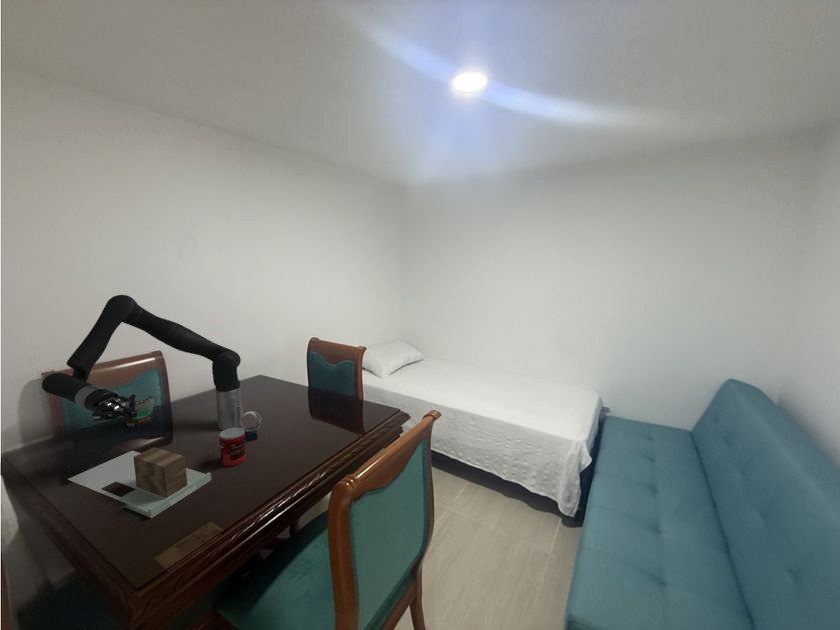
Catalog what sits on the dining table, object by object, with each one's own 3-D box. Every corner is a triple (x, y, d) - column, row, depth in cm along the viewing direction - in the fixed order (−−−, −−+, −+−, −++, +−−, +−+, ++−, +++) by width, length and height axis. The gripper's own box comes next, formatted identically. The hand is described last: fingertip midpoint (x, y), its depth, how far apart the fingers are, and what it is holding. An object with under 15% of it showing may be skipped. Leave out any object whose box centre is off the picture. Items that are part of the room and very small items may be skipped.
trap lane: (67, 483, 106) (66, 476, 105) (132, 454, 122) (132, 448, 122) (151, 518, 92) (150, 510, 92) (211, 480, 109) (210, 473, 109)
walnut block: (136, 486, 103) (133, 456, 101) (157, 475, 108) (154, 447, 107) (167, 498, 98) (164, 467, 97) (187, 486, 104) (184, 456, 102)
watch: (262, 438, 136) (261, 413, 134) (240, 443, 132) (238, 416, 130) (262, 432, 141) (261, 407, 139) (240, 436, 137) (239, 411, 135)
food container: (135, 430, 140) (133, 407, 138) (123, 428, 141) (121, 406, 140) (163, 417, 152) (161, 396, 150) (152, 416, 153) (150, 395, 152)
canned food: (227, 455, 123) (225, 427, 122) (249, 454, 124) (248, 427, 123) (216, 467, 116) (214, 438, 114) (240, 466, 117) (238, 437, 115)
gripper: (69, 400, 104) (109, 417, 100) (117, 380, 116) (154, 395, 112) (74, 419, 107) (113, 437, 103) (120, 398, 119) (157, 413, 115)
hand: (134, 415), depth 107 cm, fingers closed
